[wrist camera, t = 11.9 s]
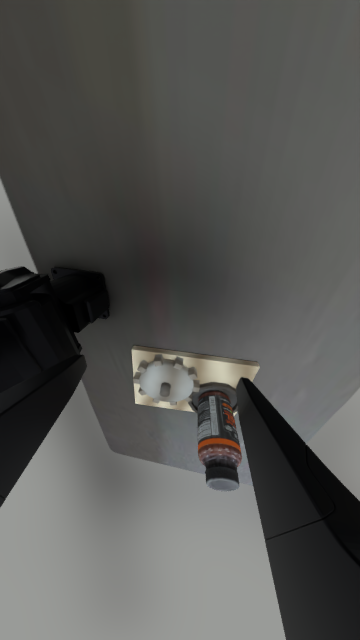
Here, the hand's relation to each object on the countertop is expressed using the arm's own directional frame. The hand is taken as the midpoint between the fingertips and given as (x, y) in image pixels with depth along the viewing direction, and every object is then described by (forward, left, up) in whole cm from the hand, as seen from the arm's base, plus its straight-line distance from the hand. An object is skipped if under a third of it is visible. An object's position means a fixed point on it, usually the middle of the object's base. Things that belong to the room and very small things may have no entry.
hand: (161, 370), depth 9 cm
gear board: (+3, -17, -13) cm, 22 cm away
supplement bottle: (+8, -19, -12) cm, 24 cm away
